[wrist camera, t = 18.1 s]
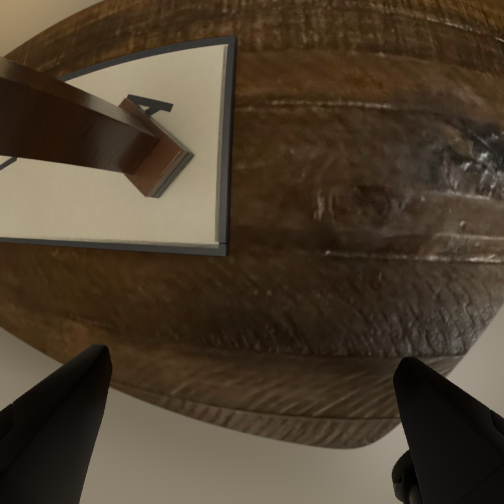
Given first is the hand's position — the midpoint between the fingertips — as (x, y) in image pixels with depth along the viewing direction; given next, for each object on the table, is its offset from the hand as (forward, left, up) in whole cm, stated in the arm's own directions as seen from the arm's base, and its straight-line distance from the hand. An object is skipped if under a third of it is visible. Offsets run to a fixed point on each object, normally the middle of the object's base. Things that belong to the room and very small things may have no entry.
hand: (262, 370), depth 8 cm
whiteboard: (+16, +18, -11) cm, 26 cm away
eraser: (+11, +6, -10) cm, 16 cm away
